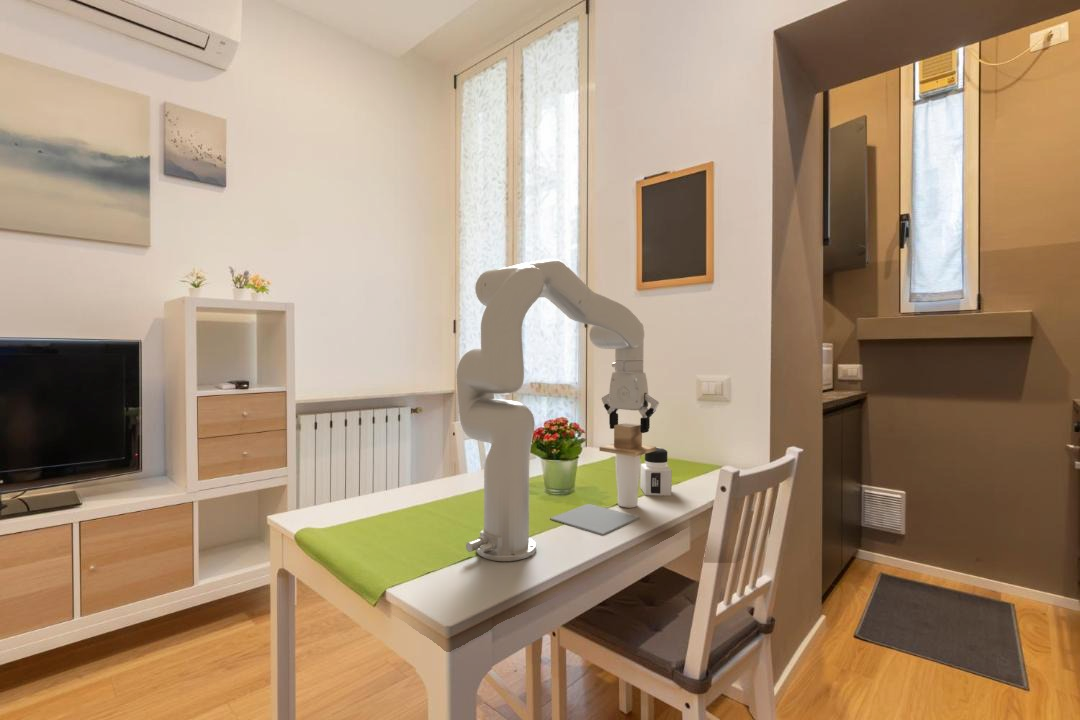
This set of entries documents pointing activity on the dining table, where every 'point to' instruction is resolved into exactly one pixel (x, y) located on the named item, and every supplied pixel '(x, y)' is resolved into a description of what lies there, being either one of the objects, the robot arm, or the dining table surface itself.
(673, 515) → the dining table surface
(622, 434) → the lid
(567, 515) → the mat
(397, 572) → the dining table surface
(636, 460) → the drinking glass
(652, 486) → the container
